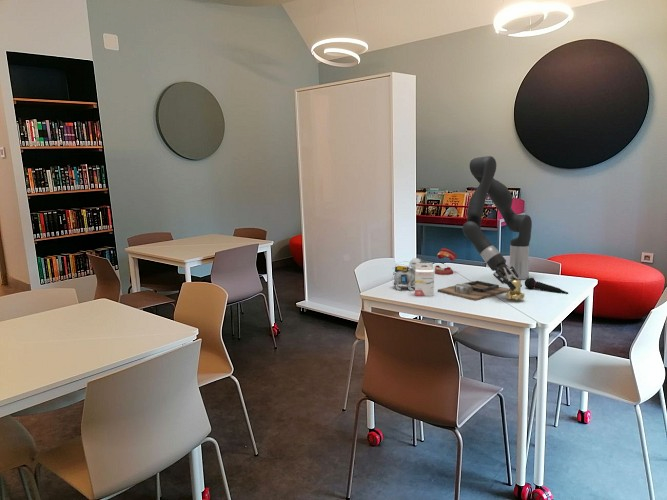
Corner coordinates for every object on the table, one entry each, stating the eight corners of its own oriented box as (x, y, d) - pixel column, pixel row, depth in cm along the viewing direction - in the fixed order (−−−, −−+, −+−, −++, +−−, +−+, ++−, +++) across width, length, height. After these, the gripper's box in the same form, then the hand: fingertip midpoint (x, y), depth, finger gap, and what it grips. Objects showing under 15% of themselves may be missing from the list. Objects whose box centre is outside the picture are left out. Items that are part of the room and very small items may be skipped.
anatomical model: (428, 272, 276) (435, 246, 277) (436, 275, 281) (443, 250, 282) (444, 275, 268) (451, 248, 269) (452, 278, 273) (459, 252, 275)
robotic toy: (425, 292, 236) (425, 261, 233) (389, 290, 241) (388, 260, 239) (428, 286, 247) (428, 256, 245) (394, 284, 253) (394, 255, 251)
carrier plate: (472, 283, 251) (473, 275, 250) (510, 291, 233) (511, 282, 233) (437, 291, 236) (437, 283, 235) (475, 300, 218) (475, 291, 218)
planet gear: (512, 293, 222) (513, 277, 221) (528, 297, 216) (528, 280, 215) (502, 296, 218) (502, 280, 217) (517, 300, 212) (517, 283, 210)
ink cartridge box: (415, 296, 229) (415, 265, 226) (414, 293, 234) (414, 263, 231) (434, 296, 228) (434, 264, 225) (433, 293, 233) (433, 262, 230)
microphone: (568, 299, 228) (525, 288, 241) (571, 287, 227) (528, 276, 241) (564, 298, 223) (521, 287, 236) (568, 286, 223) (524, 275, 236)
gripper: (489, 255, 216) (514, 286, 209) (507, 250, 225) (531, 280, 218) (478, 265, 220) (502, 296, 213) (496, 260, 230) (519, 290, 223)
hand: (517, 288), depth 216 cm, fingers closed on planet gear, 4 cm apart
